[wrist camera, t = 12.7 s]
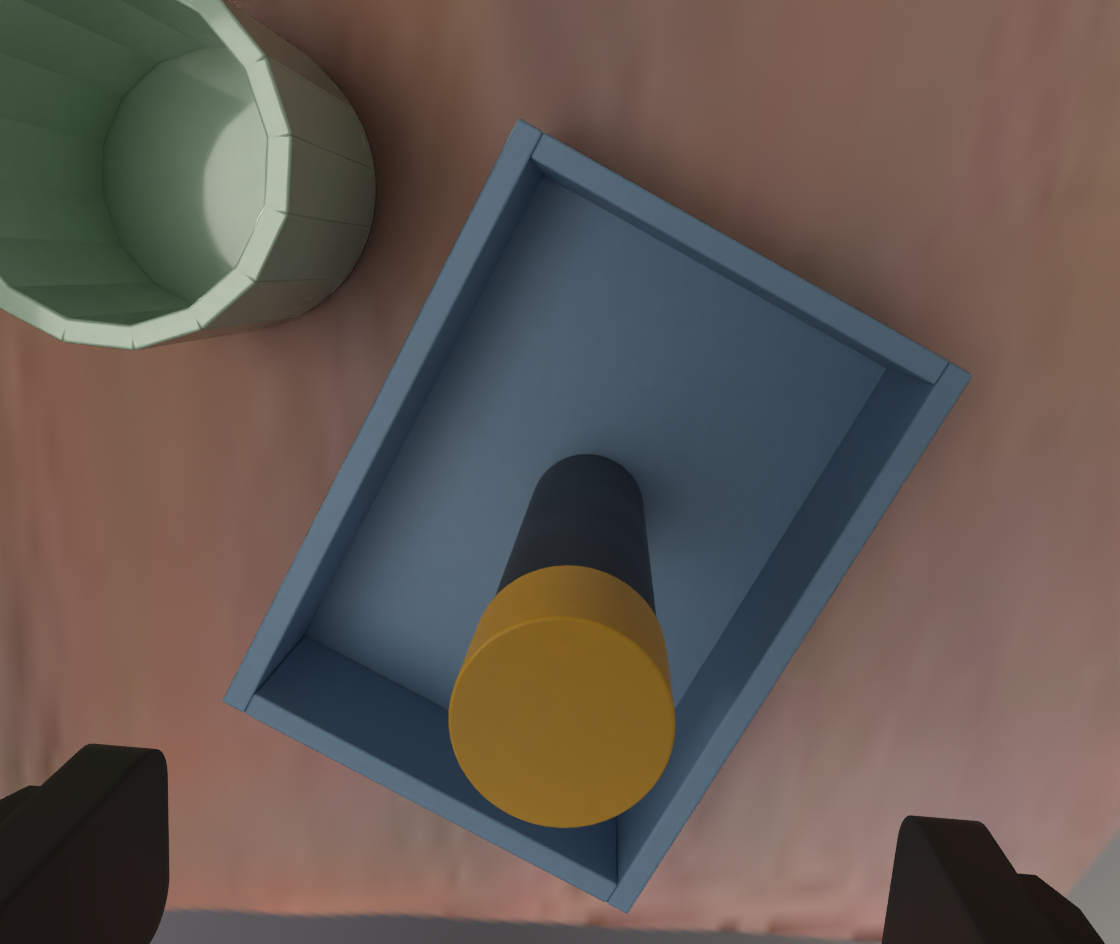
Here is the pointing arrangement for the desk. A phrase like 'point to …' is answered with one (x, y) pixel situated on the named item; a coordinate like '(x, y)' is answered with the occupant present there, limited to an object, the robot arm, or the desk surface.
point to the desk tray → (605, 430)
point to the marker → (569, 659)
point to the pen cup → (170, 172)
